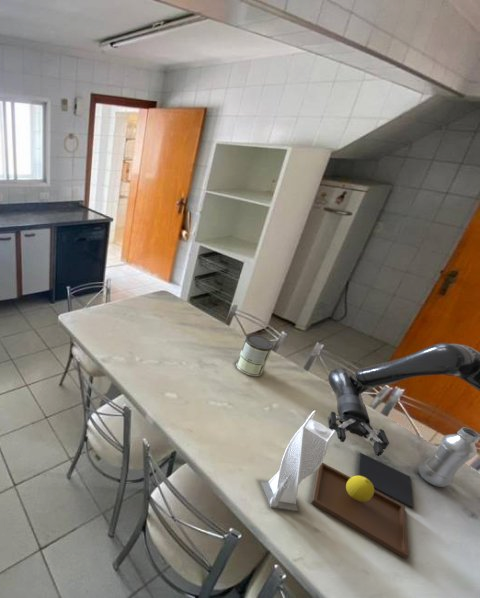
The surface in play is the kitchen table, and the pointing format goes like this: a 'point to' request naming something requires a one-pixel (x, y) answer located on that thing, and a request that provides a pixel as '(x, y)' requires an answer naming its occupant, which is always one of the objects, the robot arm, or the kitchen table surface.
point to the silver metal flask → (449, 457)
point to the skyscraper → (298, 463)
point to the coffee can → (254, 355)
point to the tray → (362, 510)
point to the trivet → (386, 479)
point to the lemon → (360, 488)
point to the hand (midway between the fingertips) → (360, 446)
